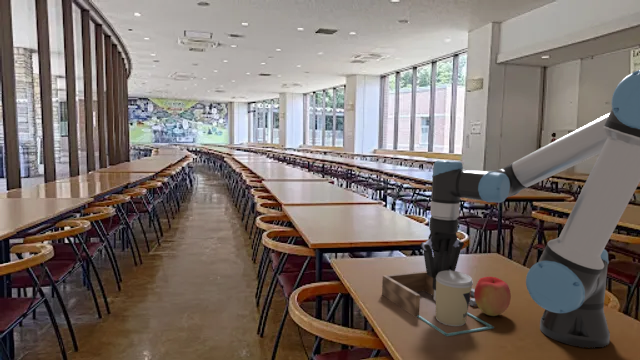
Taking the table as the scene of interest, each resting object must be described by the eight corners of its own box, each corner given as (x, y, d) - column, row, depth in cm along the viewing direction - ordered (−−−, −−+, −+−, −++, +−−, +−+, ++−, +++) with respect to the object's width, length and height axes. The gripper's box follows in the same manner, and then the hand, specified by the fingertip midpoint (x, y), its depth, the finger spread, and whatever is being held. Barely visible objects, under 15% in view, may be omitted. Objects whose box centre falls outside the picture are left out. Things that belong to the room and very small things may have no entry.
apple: (465, 309, 126) (467, 275, 125) (492, 306, 129) (494, 272, 128) (489, 323, 117) (492, 286, 116) (517, 319, 120) (520, 283, 119)
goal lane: (493, 328, 114) (493, 326, 114) (446, 336, 108) (446, 334, 108) (461, 310, 125) (461, 308, 125) (417, 316, 120) (417, 315, 120)
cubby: (463, 310, 126) (464, 289, 125) (415, 317, 120) (416, 295, 119) (425, 289, 142) (426, 271, 142) (381, 294, 136) (382, 275, 136)
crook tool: (492, 304, 131) (493, 298, 130) (473, 306, 128) (473, 300, 128) (456, 285, 148) (456, 279, 147) (438, 286, 146) (438, 281, 145)
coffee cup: (470, 330, 113) (475, 285, 111) (432, 324, 115) (436, 280, 113) (467, 314, 122) (471, 272, 120) (432, 309, 124) (435, 268, 122)
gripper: (454, 213, 126) (449, 293, 129) (416, 215, 121) (411, 298, 124) (473, 218, 119) (466, 303, 122) (432, 220, 114) (426, 308, 117)
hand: (438, 300), depth 123 cm, fingers closed
